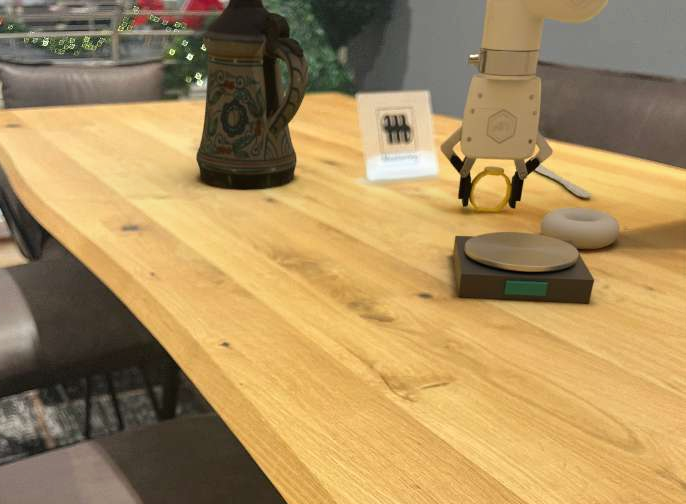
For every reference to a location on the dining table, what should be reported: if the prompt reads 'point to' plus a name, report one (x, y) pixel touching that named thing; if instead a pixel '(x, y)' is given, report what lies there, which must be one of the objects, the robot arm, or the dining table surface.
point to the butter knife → (564, 182)
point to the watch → (497, 172)
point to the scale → (520, 280)
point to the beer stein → (250, 99)
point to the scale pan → (521, 251)
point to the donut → (581, 227)
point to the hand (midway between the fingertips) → (488, 204)
